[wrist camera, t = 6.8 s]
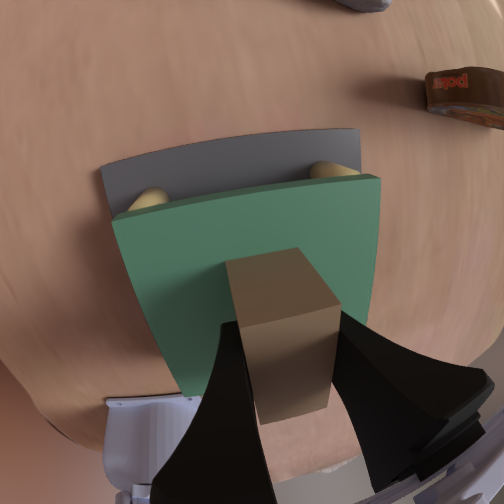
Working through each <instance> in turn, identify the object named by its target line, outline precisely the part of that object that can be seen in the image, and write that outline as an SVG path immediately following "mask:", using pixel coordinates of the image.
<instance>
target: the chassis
mask: <svg viewBox="0 0 504 504" xmlns="http://www.w3.org/2000/svg"><path fill="white" fill-rule="evenodd" d="M100 170H101V174H102V179H103V183H104V187H105V192H106V196H107V200H108V203H109V207H110V211H111V215H112V218H113V219H114V218H115V217H116V216H117V214H119V213H123V212H127V211H132V210H136V209H140V208H144V207H149V206H153V205H158V204H163V203H167V202H172V201H177V200H182V199H187V198H192V197H197V196H202V195H208V194H213V193H219V192H225V191H231V190H237V189H243V188H249V187H256V186H262V185H269V184H276V183H284V182H291V181H299V180H308V179H316V178H326V177H335V176H346V175H357V174H361V146H360V129H352V128H343V129H311V130H294V131H281V132H270V133H260V134H251V135H243V136H236V137H229V138H222V139H215V140H209V141H203V142H198V143H192V144H187V145H182V146H177V147H172V148H168V149H163V150H159V151H154V152H150V153H146V154H142V155H138V156H134V157H130V158H127V159H123V160H119V161H116V162H112V163H109V164H106V165H103V166H101V167H100Z"/></svg>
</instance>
